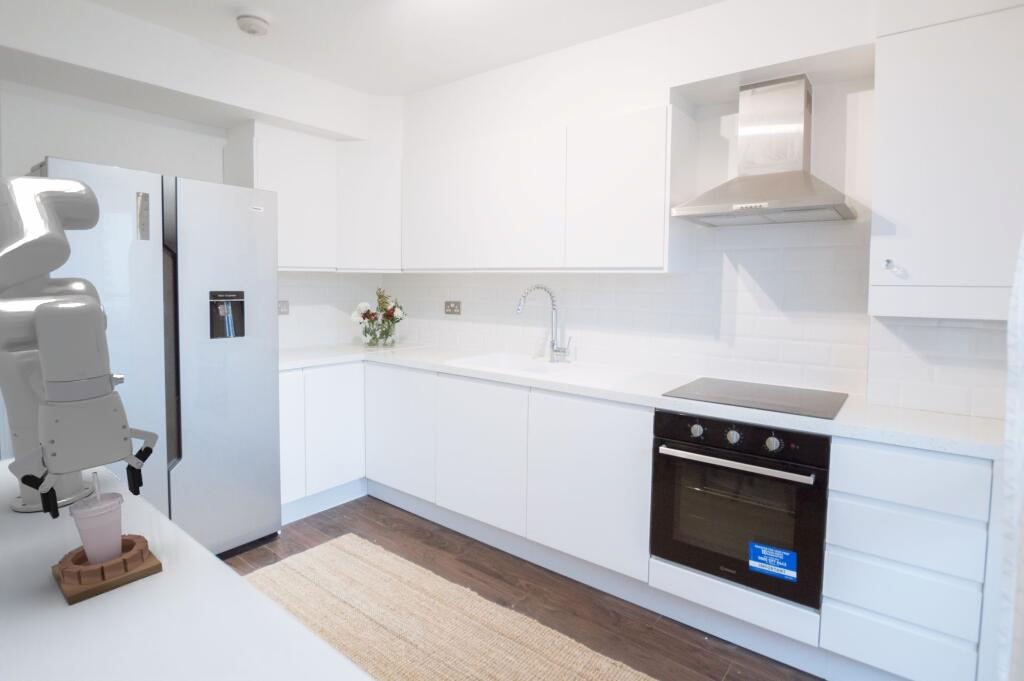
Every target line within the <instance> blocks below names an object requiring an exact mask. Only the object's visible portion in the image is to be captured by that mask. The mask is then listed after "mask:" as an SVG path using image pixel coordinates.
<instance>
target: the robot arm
mask: <svg viewBox="0 0 1024 681" xmlns="http://www.w3.org/2000/svg"><path fill="white" fill-rule="evenodd" d="M99 220H100V205H99V200H98V198H97V195H96V194H95V192H94V190H93V189H92V187H90V185H88V184H87V183H86V182H85V181H83V180H80V179H76V178H67V177H65V178H64V177H51V176H34V175H33V176H32V175H8V176H1V177H0V392H1V395H2V398H3V403H4V406H5V411H6V416H7V421H8V422H7V423H8V426H9V427H8V428H9V433H10V437H11V438H10V440H11V444H12V450H13V456H14V461H12V462H11V463H9V464H8V466H7V468H8V471H9V472H11V474H13V476H15V478H16V479H17V480H18V485H19V493H20V494H19V495H18V496H16V497H15V498H13V499H12V500H11V502H10V504H11V509H12V510H13V511H16V512H19V513H21V512H22V513H26V512H27V513H29V512H30V513H33V512H41V511H43V513H44V514H47V513H49V515H50V518H52V520H55V519H58V517H60V511H59V507H64V506H66V505H71V504H73V503H75V502H77V501H79V500H81V499H83V498H86V497H89V496H90V494H92V493H93V492H94V491H95V487H94V482H91V481H89V480H84V479H83V472H82V471H85V470H90V469H93V468H94V469H95V468H98V467H102V466H105V465H111V464H114V463H118V462H121V461H123V462H126V463H127V465H126V467H125V471H126V479H127V485H128V490H129V492H130V493H131V494H132V495H133V496H139V495H141V491H140V488H141V487H143V486H144V482H143V474H142V468H143V467H144V465H145V462H146V461H147V460H148V459H149V458H150V456H152V454H153V452H154V448H155V446H156V444H157V441H158V439H159V435H158V434H157V433H155V432H153V431H148V430H144V429H139V428H134V427H130V426H129V425H130V424H129V421H128V417H127V413H126V410H125V407H124V404H123V400H122V398H121V395H120V393H119V391H117V390H115V388H116V386H119V385H120V384H124V383H125V378H124V375H123V373H121V374H117V373H115V374H114V373H112V372H111V367H110V366H111V365H110V364H111V363H110V362H111V359H110V354H109V353H110V352H109V346H108V339H107V332H106V331H107V329H108V317H107V316H108V315H107V313H106V309H105V307H104V305H103V304H102V303H101V299H100V295H99V291H97V288H96V287H95V285H94V284H93V282H92V281H90V280H88V279H85V278H82V277H54V278H53V277H52V278H51V277H50V276H49V273H52V272H55V271H57V270H58V269H60V268H61V267H62V266H64V265H65V264H66V263H67V262H68V260H69V259H70V256H71V252H72V251H71V248H72V247H71V245H70V242H69V239H68V237H67V235H66V232H65V231H88V230H92V229H93V228H95V227H96V226H97V225H98V222H99ZM132 439H137V440H142V441H143V445H142V446H141V447H140V448H139V450H138V451H136V453H135V454H133V440H132Z"/></svg>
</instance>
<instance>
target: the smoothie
mask: <svg viewBox="0 0 1024 681" xmlns="http://www.w3.org/2000/svg"><path fill="white" fill-rule="evenodd" d="M91 474H92V479H93V480H92V481H93V486H94V493H95V494H94V495H88V496H86V497H84V498H83V499H80V500H78V501H76V502H73V503H71V504H70V505H69V507H68V511H69V513H68V515H69V517H72V518H73V521H74V523H75V526H76V528H77V532H78V535H79V537H80V541H81V544H82V545H83V547H84V550H85V552H86V555H87V558H88V561H89V564H90V565H95V564H102V563H105V562H108V561H111V560H114V559H117V558H119V557H121V556H122V540H121V535H122V505H123V503H124V501H125V500H124V498H123V494H121V493H120V492H103V493H101V489H100V484H99V476H98V471H94V472H91Z"/></svg>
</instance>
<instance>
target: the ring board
mask: <svg viewBox="0 0 1024 681" xmlns="http://www.w3.org/2000/svg"><path fill="white" fill-rule="evenodd" d="M121 540H122V556H121V557H119V558H117V559H114V560H111V561H108V562H105V563H102V564H95V565H90V564H89V561H88V558H87V555H86V552H85V550H84V547H83V544H82V545H80V546H79V547H77V548H74V549H73V550H70V551H69V552H68V553H66V554H64V555H63V557H62V558H61V559H60V560H59V561H58V563H55V564H54V565H51V573H52V576H53V577H54V579H55V581H56V583H57V585H58V587H59V588H60V591H61V593H62V594H63V597H64V598H65V600H66V602H67V604H68V606H71V605H74V604H77V603H79V602H82V601H85V600H87V599H90V598H93V597H95V596H98V595H102V594H103V593H106V592H109V591H111V590H114V589H117V588H120V587H122V586H125V585H128V584H130V583H132V582H136V581H138V579H139V580H141V579H143V578H146V577H149V576H151V575H154V574H156V573H159V572H160V573H161V572H162V571H163V565H162V562H161V561H160V559H159V558H157V556H156V555H155V554H154V553H153V552H152V551H151V550H150V549H149V544H148V539H147V538H146V537H145V536H144V535H141V534H133V533H128V534H125V533H123V534H121ZM135 580H136V581H135Z"/></svg>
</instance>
